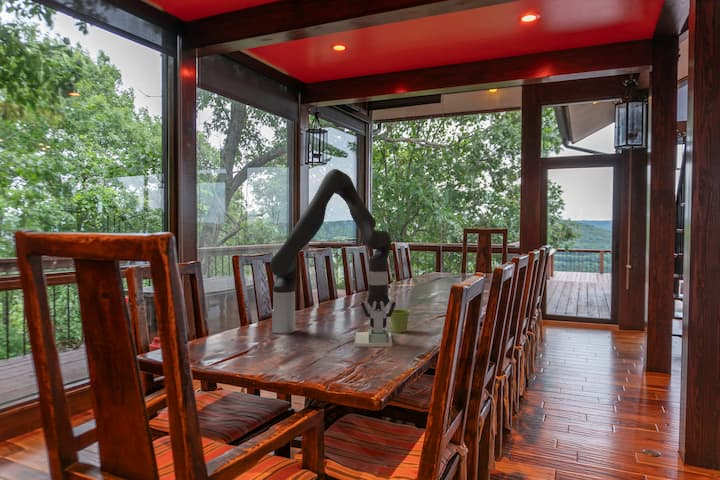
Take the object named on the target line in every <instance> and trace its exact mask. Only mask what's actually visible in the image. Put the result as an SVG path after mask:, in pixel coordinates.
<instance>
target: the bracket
mask: <svg viewBox="0 0 720 480" xmlns="http://www.w3.org/2000/svg"><path fill="white" fill-rule="evenodd" d="M373 318H374V328H373V329H374V334H383V329H384V328H383V311H382V310H380V309H377V310H375V311H374V316H373Z"/></svg>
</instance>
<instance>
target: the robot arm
mask: <svg viewBox="0 0 720 480" xmlns="http://www.w3.org/2000/svg"><path fill="white" fill-rule="evenodd" d="M353 182H354V181H352V178H351V177H350V176H349V174H347V173H345V172H343V171H341V170H339V169H338V168H333V169H331V170H329V171H327V173H326V174H325V175H324V177H323V179H322V180H321V183H320V185H319V187H318V189H317V190H316V193H315V194H314V196H313V198H311V201H310V203H309V204H308V206H307V207H306V209H305V210H304V212H303V213H302V215H301V216H300V218H299V219H298V220H297V222H296V224H295V225H294V227H293V229H292V230H291V232H290V233H289V235H288V237H287V238H286V240H285V241H284V243H283V245H282V246H281V247H280V248H279V250H278V251H277V252H276V254H274V255H273V257H272V258H271V260H270V264H269V269H270V272H271V273H272V275H274V276H276V278H275V282H274V284H273V285H272V294H273V295H272V299H273V301H272V303H273V304H272V305H273V306H272V308H273V309H272V311H271V314H272V315H271V318H272V319H271V322H272V323H271V324H272V326H271V327H272V329H271V330H272V331H271V333H273V334H281V335H282V334H283V335H284V334H292V333H294V332H296V291H295V290H296V286H297V281H298V280H297V278H298V277H297V274H298V267H297V265H298V263H297V261H296V257H297V256H298V254H300V251H302V249H303V248H305V247H306V246H307V245H308V244H309V243H310V242H311V241H312V240H313V239H314V238H315V236H316V235H317V234H318V232H319V231H320V229H321V228H322V225H323V224H324V221H325V219H326V218H325V217H326V211H327V206H328V204H329V202H330V201H331V199H332V197H333V196H334V195H335V194H336V195H337V196H338V195H339V197H340V198H341V199H343V201H344V202H345V203H346V205H347V207H348V210H349V213H350V216H351V219H352V220H353V222H354V223H355V224H356V226H357V228H358V229H359V232H360V235H361V237H362V241H363V243H364V245H365V246H366V247H367V248H368V249H370V250H372V251H373V250H375V252H374V254H373V255H372V256H370V257H369V258H368V279H367V282H368V288H367V289H368V292H367V293H368V294H367V295H368V297H367V299H366V300H362V301H361V302H360V306H361V307H362V310H363V313H364V315H365V317H366V318H369V324H370V327H371V329H374V311H375V310H377V309H380V310H382V311H383V329H386V327H387V319H388V318H390V317H391V315H392V312H393V310H395V306H396V305H397V304H396V301H395V300H391V299H390V298H389V275H388V259H389V255H390V252H391V246H392V240H391V239H392V238H391V235H390V233H389V232H388V231H386V230H376V229H375V228H376V227H377V221H376V219H375V218H374V217H373V215H372V213H371V212H370V211H369V209H368V208H367V206H366V205H365V203H364V202H363V200H362V198H361V197H360V195H359V193H358V191H357V189H356V186H355V184H354V183H353ZM368 305H369V306H370V308H371V311H370V313H369V310H368V308H367V306H368ZM387 305H389V310H388V311H389V312H388V311H387V312H388V313H387V312H386V307H387Z"/></svg>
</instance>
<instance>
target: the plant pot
mask: <svg viewBox="0 0 720 480" xmlns="http://www.w3.org/2000/svg"><path fill="white" fill-rule="evenodd" d="M387 312H389V310H387ZM410 313H411V311H410V310H408V309H401V308H400V309H394V310H393V312H392V315H391V317H389V318H390V323H391V324H390V325H391V331H392V332H393V333H395V334H396V333H399V334H401V333H406V332H407V331H408V323H409V316H410Z"/></svg>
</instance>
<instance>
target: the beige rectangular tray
mask: <svg viewBox="0 0 720 480" xmlns="http://www.w3.org/2000/svg"><path fill="white" fill-rule="evenodd" d="M392 340H393V339H392V334H391V332H389V329H388V328H383V334H374V328H369V329H368V331H367V332H364V331H363V332H355V338H354V347H356V348H357V347H363V348H364V347H366V348H368V347H369V348H370V347H373V348H374V347H375V348H376V347H379V348H380V347H383V348H385V347H386V348H387V347H388V348H389V347H393V341H392Z"/></svg>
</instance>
